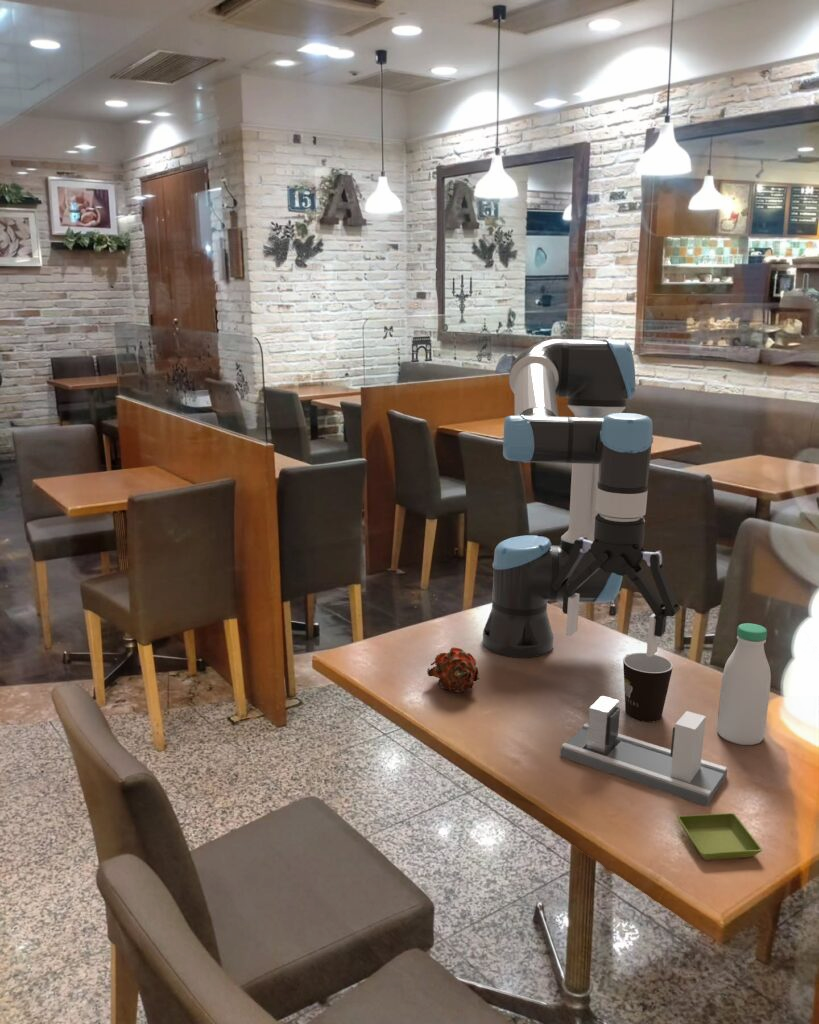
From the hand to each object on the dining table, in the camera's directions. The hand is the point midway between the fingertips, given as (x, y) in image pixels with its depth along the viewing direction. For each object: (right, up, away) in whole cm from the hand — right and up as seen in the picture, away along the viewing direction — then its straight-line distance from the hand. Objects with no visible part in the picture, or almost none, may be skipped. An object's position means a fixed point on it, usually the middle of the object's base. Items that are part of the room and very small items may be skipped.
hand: (610, 643), depth 140 cm
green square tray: (+11, -26, -18) cm, 33 cm away
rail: (+5, -20, +1) cm, 21 cm away
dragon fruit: (-24, -13, +28) cm, 39 cm away
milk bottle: (+25, -18, +11) cm, 33 cm away
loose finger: (0, -19, +5) cm, 20 cm away
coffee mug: (+11, -15, +20) cm, 27 cm away
